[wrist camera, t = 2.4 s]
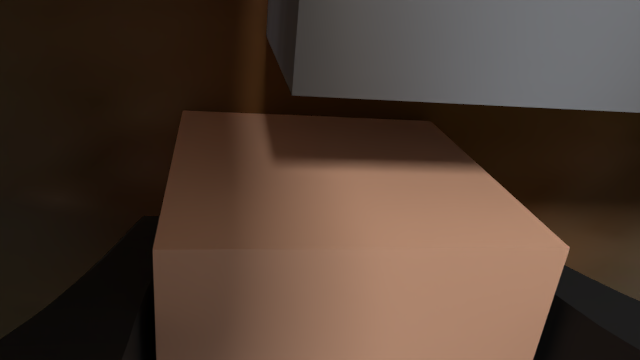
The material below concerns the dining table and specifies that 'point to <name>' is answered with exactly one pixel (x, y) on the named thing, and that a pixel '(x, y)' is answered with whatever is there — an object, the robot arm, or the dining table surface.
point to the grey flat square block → (462, 51)
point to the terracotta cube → (343, 245)
